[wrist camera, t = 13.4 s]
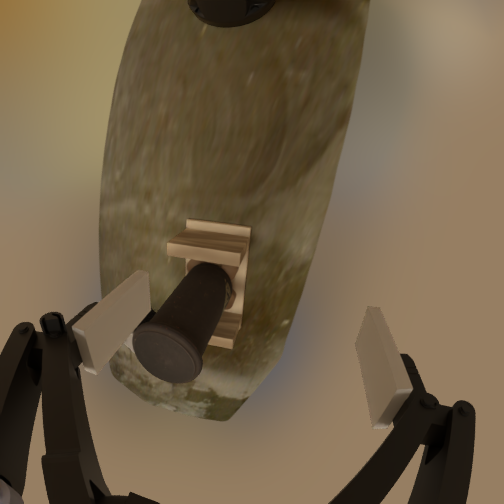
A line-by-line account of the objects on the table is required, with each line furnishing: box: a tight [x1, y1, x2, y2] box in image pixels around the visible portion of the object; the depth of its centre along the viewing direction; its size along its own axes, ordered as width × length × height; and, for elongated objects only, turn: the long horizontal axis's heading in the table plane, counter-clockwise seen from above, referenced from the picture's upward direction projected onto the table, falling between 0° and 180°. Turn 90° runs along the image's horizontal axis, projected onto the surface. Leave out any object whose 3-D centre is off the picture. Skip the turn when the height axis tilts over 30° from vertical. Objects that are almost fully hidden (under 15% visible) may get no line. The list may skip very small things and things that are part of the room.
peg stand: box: [167, 219, 251, 349], centre depth 47 cm, size 20×11×9 cm, turn 174°
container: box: [132, 263, 232, 383], centre depth 39 cm, size 9×9×20 cm
